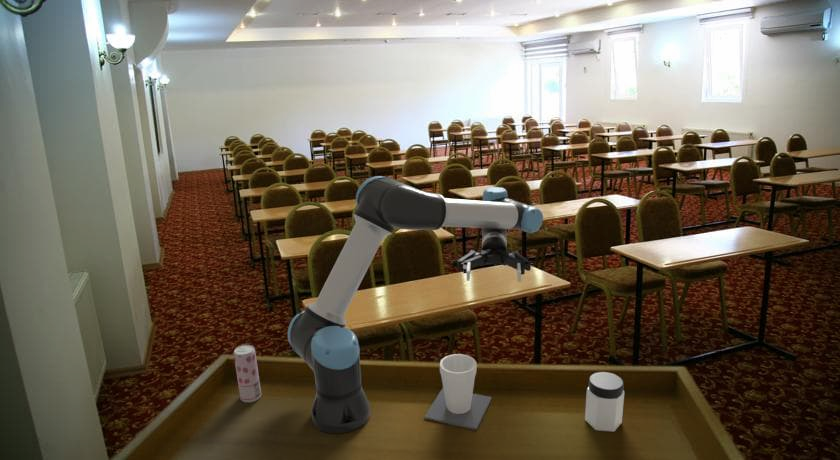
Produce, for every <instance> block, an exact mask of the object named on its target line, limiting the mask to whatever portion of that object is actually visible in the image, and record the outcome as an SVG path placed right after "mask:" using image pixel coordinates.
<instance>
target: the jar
mask: <svg viewBox="0 0 840 460" xmlns="http://www.w3.org/2000/svg"><path fill="white" fill-rule="evenodd" d="M585 395H586V396H585V397H586V398H585V399H586V400H585V411H584V412H585V414H584V415H585V416H584V420H585V422H587V423H588V424H589V426H591V428H593V429H594V431H601V432H616V430H617V429H618V428H619V427H620V425H621V424H622V422H623V414H624V413H623V412H624V410H623V409H624V402H625V390H624V380H623V379H622V377H620V376H619V375H617V374H615V373H612V372H608V371H598V372H594V373H592V374H591V375H590V376H589V378H588V387H587V388H586V394H585Z"/></svg>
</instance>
